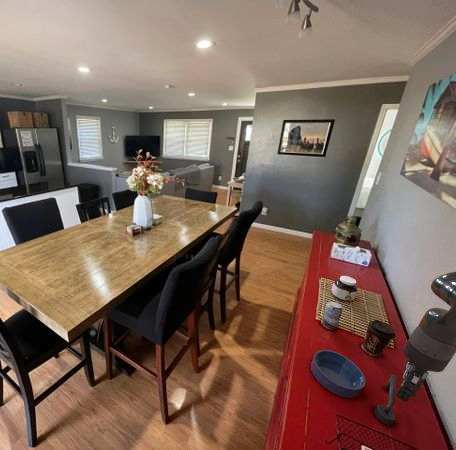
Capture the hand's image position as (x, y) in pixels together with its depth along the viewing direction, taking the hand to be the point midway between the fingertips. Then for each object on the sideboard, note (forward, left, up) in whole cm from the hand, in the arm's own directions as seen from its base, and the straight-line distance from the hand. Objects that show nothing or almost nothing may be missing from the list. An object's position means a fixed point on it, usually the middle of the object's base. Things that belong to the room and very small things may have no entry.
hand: (403, 388), depth 67 cm
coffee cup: (+6, -34, -18) cm, 39 cm away
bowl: (+14, -8, -18) cm, 24 cm away
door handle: (0, -10, -18) cm, 20 cm away
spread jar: (+22, -68, -18) cm, 74 cm away
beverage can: (+22, -36, -18) cm, 46 cm away
